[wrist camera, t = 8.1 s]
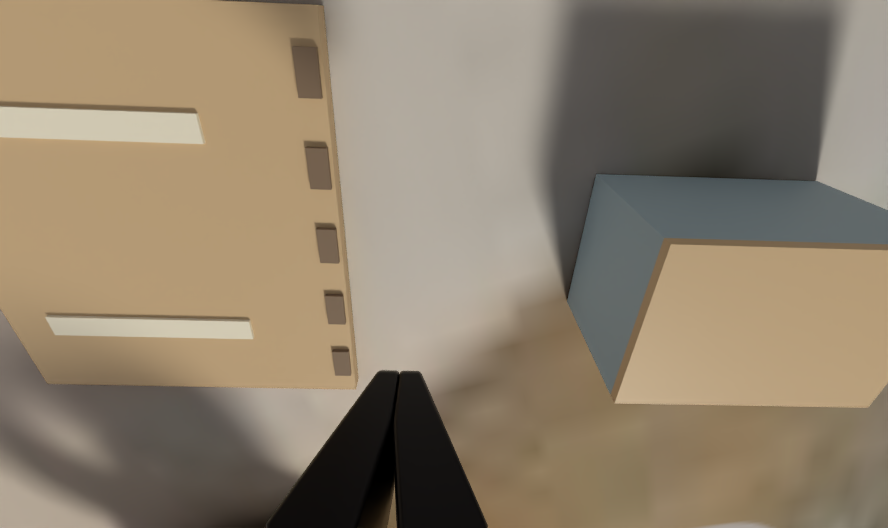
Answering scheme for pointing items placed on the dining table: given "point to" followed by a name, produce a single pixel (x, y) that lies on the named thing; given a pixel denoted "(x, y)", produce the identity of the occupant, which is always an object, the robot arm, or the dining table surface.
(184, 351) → the pad
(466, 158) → the dining table surface
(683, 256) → the stub
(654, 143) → the dining table surface
